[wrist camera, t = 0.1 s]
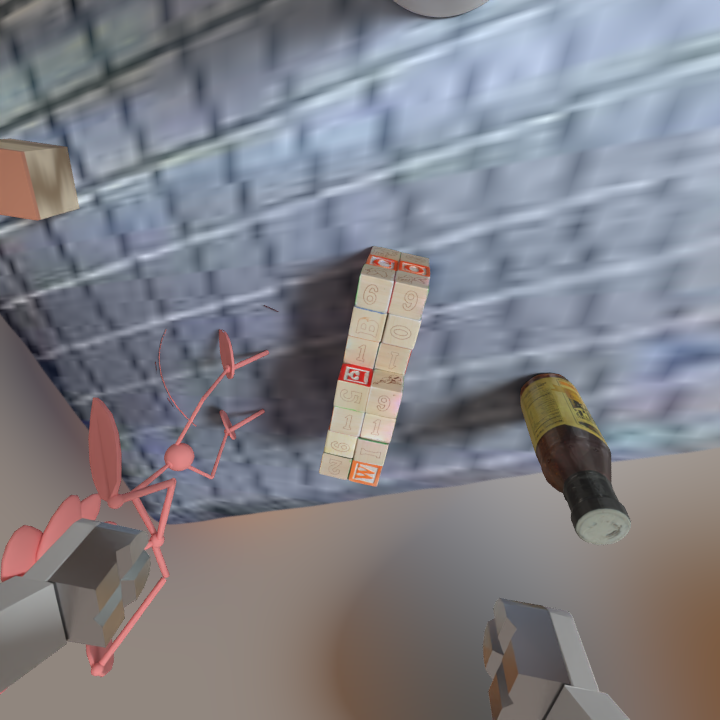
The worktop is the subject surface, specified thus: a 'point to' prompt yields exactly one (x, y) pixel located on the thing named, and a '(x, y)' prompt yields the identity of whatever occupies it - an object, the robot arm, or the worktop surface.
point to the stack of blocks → (375, 364)
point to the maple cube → (35, 180)
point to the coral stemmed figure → (118, 498)
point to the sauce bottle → (574, 457)
